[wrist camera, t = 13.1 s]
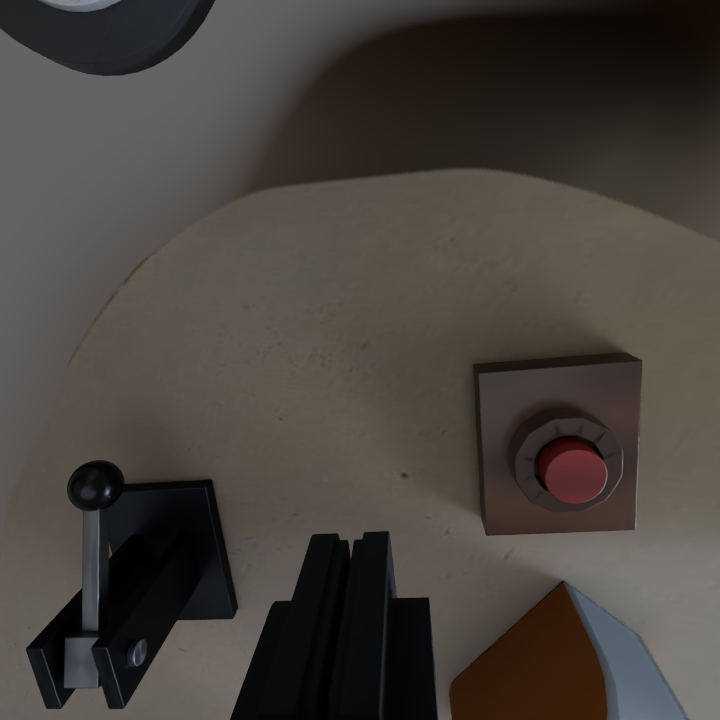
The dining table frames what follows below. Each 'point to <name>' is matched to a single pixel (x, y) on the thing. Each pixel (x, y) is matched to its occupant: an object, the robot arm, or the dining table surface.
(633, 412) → the block
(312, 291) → the dining table surface
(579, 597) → the alarm clock
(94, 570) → the switch lever
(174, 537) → the switch bracket
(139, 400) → the dining table surface
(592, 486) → the stop button
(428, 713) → the robot arm
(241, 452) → the dining table surface
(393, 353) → the dining table surface
